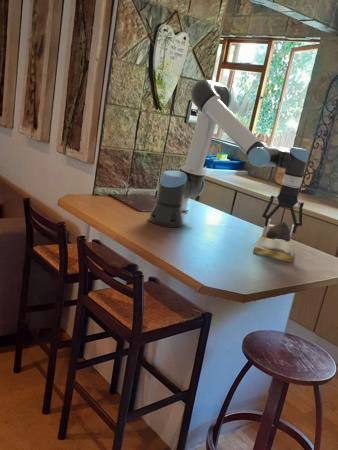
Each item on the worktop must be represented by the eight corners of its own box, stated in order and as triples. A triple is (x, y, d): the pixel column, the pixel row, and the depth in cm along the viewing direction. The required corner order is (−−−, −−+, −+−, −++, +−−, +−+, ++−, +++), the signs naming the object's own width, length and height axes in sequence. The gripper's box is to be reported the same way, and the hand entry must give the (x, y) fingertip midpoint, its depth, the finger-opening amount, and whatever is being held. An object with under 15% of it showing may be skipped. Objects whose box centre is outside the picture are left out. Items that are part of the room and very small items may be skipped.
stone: (277, 251, 182) (298, 237, 181) (266, 234, 181) (286, 220, 180) (272, 247, 192) (291, 234, 191) (261, 230, 191) (281, 218, 190)
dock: (253, 252, 183) (254, 246, 182) (257, 241, 200) (258, 236, 199) (291, 262, 179) (293, 256, 178) (293, 250, 196) (294, 245, 195)
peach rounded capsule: (260, 239, 204) (264, 225, 202) (261, 236, 210) (265, 222, 208) (273, 242, 203) (277, 228, 201) (274, 239, 208) (278, 225, 206)
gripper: (263, 180, 180) (251, 232, 187) (318, 192, 175) (303, 245, 181) (265, 178, 187) (253, 228, 194) (317, 190, 182) (303, 241, 188)
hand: (277, 237), depth 187 cm, fingers closed on stone, 9 cm apart
